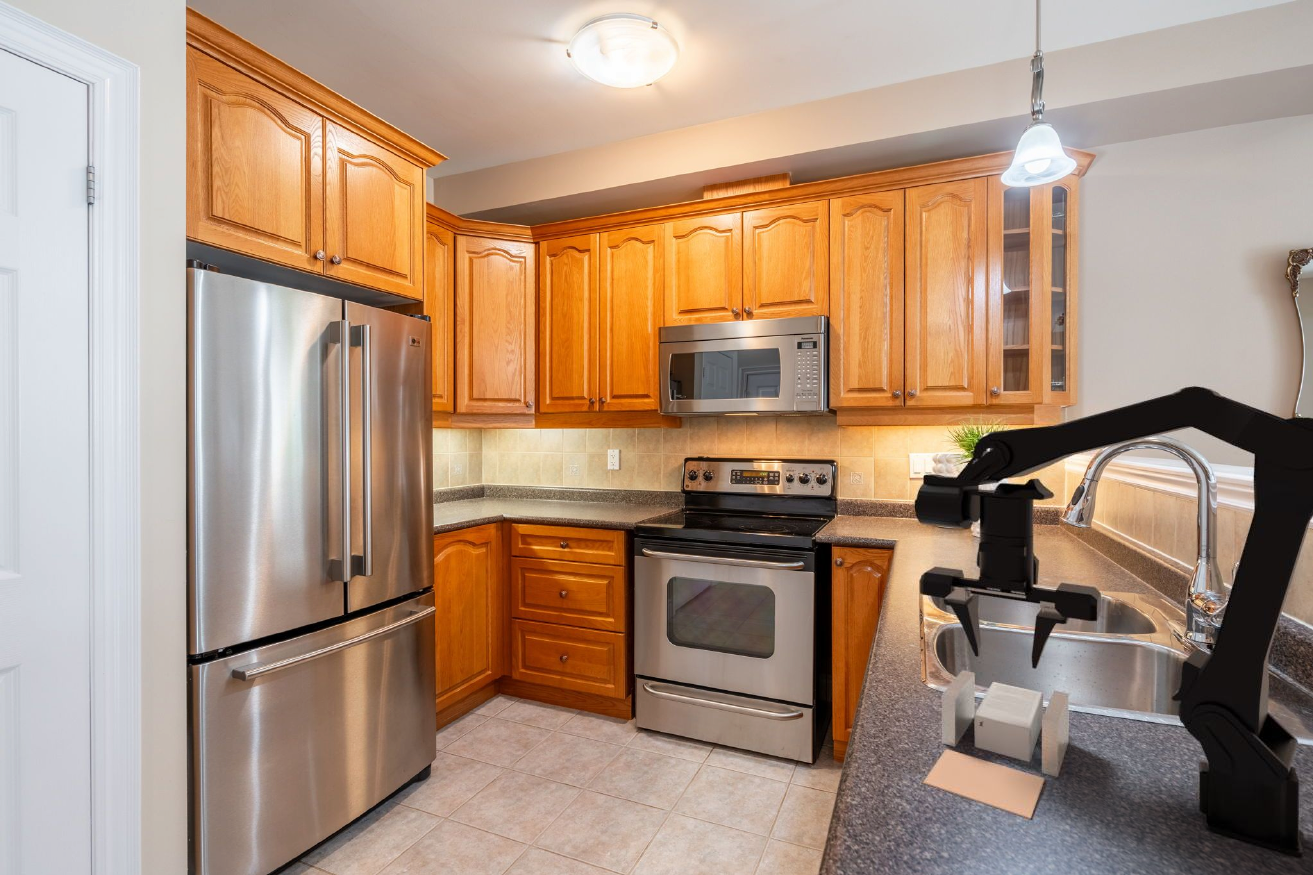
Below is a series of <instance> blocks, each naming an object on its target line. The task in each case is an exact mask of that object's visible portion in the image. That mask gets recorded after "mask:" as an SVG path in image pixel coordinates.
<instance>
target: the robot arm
mask: <svg viewBox="0 0 1313 875" xmlns="http://www.w3.org/2000/svg"><path fill="white" fill-rule="evenodd" d="M1191 428H1193V429H1196V430H1199V431H1200V432H1203V433H1204V434H1207V435H1209V436H1212V437H1214V438H1216V439H1218V440H1220V441H1223V442H1224V443H1227V444H1229V445H1230V446H1233V447H1236V448H1238V449H1241V450H1243V451H1246V452H1248V453H1250V454H1253V455H1254V459H1253V460H1254V464H1253V500H1254V501H1253V502H1254V503H1253V504H1254V507H1253V508H1254V509H1253V510H1254V511H1253V517H1252V519H1251V522H1250V526H1249V529H1248V532H1247V535H1246V539H1245V543H1244V547H1243V550H1242V553H1241V557H1240V558H1239V559H1240V560H1239V562H1238V566H1237V569H1236V573H1235V576H1234V580H1233V583H1232V585H1231V586H1232V587H1231V590H1230V593H1229V597H1228V600H1227V602H1226V603H1227V604H1226V605H1225V606H1226V607H1225V610H1224V614H1223V616H1222V617H1223V618H1222V620H1221V623H1220V627H1219V629H1218V632H1217V637H1216V641H1215V643H1214V646H1213V648H1212V650H1211V651H1210V653H1209V654H1208V653H1206V652H1204V651H1203V650H1200V649H1199V648H1195V649H1193V651H1192V652H1191V653H1190V654H1189V655H1188V656H1187V657H1186V658H1185V660H1184V661H1183V662H1182V668H1181V680H1180V681H1181V682H1180V687H1179V688H1178V690H1177V691H1176V692H1175V693H1174V694H1173V696H1172V697H1171V700H1172V701H1174V702H1180V703H1179V705H1178V717H1179V721H1180V722H1181V724H1182V725H1183V726H1184V728H1185V729H1186V731H1187V732H1188V733H1189V734H1190V735H1191V736H1192V737H1193V738H1195V740H1196V741H1198V742H1199V744H1200V746H1201V748H1202V751H1203V753H1204V755H1205V760H1206V761H1201V760H1200V761H1199V762H1198V768H1197V769H1198V770H1197V771H1198V777H1197V778H1198V779H1197V781H1198V782H1197V783H1198V784H1197V785H1198V786H1197V789H1198V790H1197V792H1198V793H1197V802H1198V811H1199V812H1200V813H1201V814H1202V815H1204V817H1205V819H1204V820H1205V825H1206V828H1207V830H1209V831H1212V832H1214V833H1217V834H1221V835H1225V836H1226V837H1227V836H1228V837H1231V838H1234V839H1238V840H1240V841H1245V842H1248V843H1251V844H1255V845H1257V846H1261V847H1265V848H1268V849H1271V850H1274V851H1278V852H1281V853H1284V854H1288V855H1291V856H1293V857H1295V856H1296V857H1299V858H1303V857H1304V849H1303V847H1302V843H1301V840H1300V779H1299V776H1298V774H1297V772H1296V770H1295V769H1296V768H1295V767H1293V766H1292V763H1293V760H1294V757H1295V753H1296V750H1297V747H1298V744H1299V741H1298V739H1297V738H1296V737H1295V736H1294V735H1293V734H1292V733H1291V732H1290V731H1289V730H1288V729H1287V728H1286V727H1285V726H1283V724H1281V723H1280V722H1279V721H1278V720H1277V719H1276V718H1275V717H1274V716H1273V715H1272V714H1271V713H1270V712H1269V711H1268V708H1269V690H1270V687H1269V686H1270V679H1269V678H1270V677H1269V675H1270V673H1269V655H1270V651H1271V648H1272V645H1273V642H1274V638H1275V636H1276V632H1277V629H1278V626H1279V622H1280V618H1281V616H1282V612H1283V610H1284V606H1285V603H1286V600H1287V597H1288V594H1289V590H1290V586H1291V584H1292V580H1293V577H1294V576H1295V575H1294V574H1295V570H1296V569H1297V565H1298V562H1299V558H1300V556H1301V553H1302V552H1301V551H1302V548H1303V546H1304V542H1305V540H1306V535H1307V534H1308V529H1309V527H1310V524H1311V522H1312V519H1313V417H1298V416H1296V417H1290V418H1283V417H1281V416H1277V415H1275V414H1273V413H1270V412H1267V411H1264V410H1262V409H1258V408H1257V407H1253V406H1251V405H1248V404H1245V403H1242V402H1240V401H1237V400H1233V399H1232V398H1229V397H1226V396H1223V395H1221V394H1220V393H1219V392H1218V391H1216V390H1213V389H1211V388H1207V387H1204V386H1203V387H1202V386H1196V385H1194V386H1187V387H1183V388H1179V390H1177V391H1175V392H1172V393H1170V394H1165V395H1161V396H1158V397H1155V398H1152V399H1148V400H1144V401H1143V400H1142V401H1139V402H1136V403H1133V404H1130V405H1129V404H1128V405H1125V406H1121V407H1118V408H1114V409H1110V410H1107V411H1102V412H1100V413H1095V414H1092V415H1087V416H1085V417H1080V418H1078V419H1077V418H1076V419H1073V420H1069V421H1065V422H1061V423H1058V424H1054V425H1048V426H1036V427H1034V426H1033V427H1025V428H1024V427H1023V428H1014V429H1007V430H1005V429H1004V430H996V431H995V430H994V431H991V432H987V433H984V434H983V435H981V436H980V437H978V439H977V442H976V443H975V446H974V449H973V454H972V457H971V459H970V460H969V461H968V463H967V464H966V465H965V466H964V468H963V469H962V470H961V471H960V472H959V474H958V475H957V476H946V475H943V474H942V475H941V474H938V473H936V474H934V473H931V474H929V473H928V474H924V475H923V477H922V479H923V480H922V481H923V483H922V484H921V485H920V487H919V489H918V491H917V495H916V498H915V500H914V513H915V517H916V519H917V521H918V522H919V523H920V524H921V525H924V526H934V527H941V528H942V527H943V528H951V529H961V530H968V529H970V528H971V527H972V525H974V523H978V521H979V543H978V550H977V554H976V566H977V567H978V568H979V576H978V578H972V577H971V578H969V577H965V575H964V571H963V569H958V568H950V567H949V568H948V567H941V566H934V567H932V568H929V569H928V570H927V571H925V572H923V574H922V575H921V576H920V579H919V594H920V595H923V596H928V597H935V598H943V605H945V606H949V607H951V609H952V611H953V613H954V615H956V617H957V620H958V621H959V623H960V625H961V626H962V629H963V632H964V633H965V636H966V638H967V640H968V644H969V645H970V648H971V650H972V652H973V655H974V656H975V657H977V658H979V657H980V656H981V653H982V652H981V651H982V650H981V649H982V648H981V647H982V640H981V631H980V630H981V628H980V619H979V618H980V617H979V601H980V600H979V599H980V596H987V597H992V598H998V599H1005V600H1011V601H1019V602H1025V603H1031V604H1032V603H1033V604H1036V605H1037V604H1039V607H1040V610H1039V612H1038V613H1037V614H1036V616H1035V623H1034V632H1033V642H1032V649H1031V668H1032V669H1035V670H1036V669H1037V668H1038V666H1039V664H1040V661H1041V658H1042V656H1043V653H1044V650H1045V648H1046V645H1047V642H1048V640H1049V637H1050V635H1051V634H1052V631H1053V629H1054V628H1055V627H1056V625H1067V624H1068V622H1069V621H1070V619H1074V620H1080V621H1087V622H1097V621H1098V619H1099V617H1100V615H1101V613H1102V592H1100V591H1099V589H1097V587H1096V586H1088V585H1081V584H1075V583H1067V582H1066V583H1065V582H1061V583H1060V584H1058V586H1057V588H1056V589H1051V588H1045V587H1044V588H1043V587H1037V586H1035V585H1038V583H1039V569H1040V560H1039V558H1038V557H1037V556H1036V555H1035V553H1034V501H1045V500H1049V499H1054V496H1055V494H1054V493H1053V491H1051V490H1050V489H1049V488H1047V487H1046V485H1044V484H1043V483H1042V482H1041V480H1040V479H1039V478H1030V479H1028V481H1026V483H1010V482H1009V483H1006V482H1002V481H1003V480H1005V479H1006V480H1007V479H1013V478H1022V477H1026V476H1028V475H1031V474H1033V473H1035V472H1039V471H1041V470H1043V469H1045V468H1047V467H1051V466H1053V465H1054V464H1057V463H1058V462H1060V461H1063V460H1065V459H1068V458H1070V457H1072V456H1075V455H1079V454H1083V453H1087V452H1092V451H1095V450H1096V451H1097V450H1100V449H1104V448H1108V447H1114V446H1117V445H1121V444H1126V443H1130V442H1134V441H1138V440H1142V439H1143V440H1144V439H1146V438H1153V437H1156V436H1159V435H1164V434H1168V433H1173V432H1178V431H1182V430H1186V429H1191ZM999 482H1001V483H999ZM992 484H998V485H997V486H996V487H995V489H994V490H993V489H980V488H979V487H980V486H984V485H992Z"/></svg>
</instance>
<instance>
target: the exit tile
mask: <svg viewBox="0 0 1313 875" xmlns="http://www.w3.org/2000/svg"><path fill="white" fill-rule="evenodd" d="M922 782H923V783H922V784H924V785H926V786H930V787H933V788H936V789H938V790H942V791H945V792H948V793H951V794H954V795H956V796H960V797H963V798H965V799H968V800H970V801H974V802H977V803H980V804H983V805H986V806H990V807H992V808H996V809H999V810H1000V811H1004V812H1007V813H1010V814H1014V815H1016V816H1019V817H1023V818H1025V819H1028V820H1032V817H1033V815H1034V811H1035V808H1036V805H1037V804H1038V799H1039V797H1040V796H1041V791H1042V790H1043V786H1044V783H1045V778H1044V777H1042V776H1038V775H1035V774H1032V773H1027V772H1024V771H1021V770H1018V769H1015V768H1011V767H1008V766H1004V765H1001V764H998V763H994V762H991V761H988V760H984V759H980V758H977V757H975V756H971V755H969V754H968V755H967V754H965V753H960V752H958V751H957V752H956V751H954V750H951V749H949V748H946V749H945V750H944V751H943V753H942V754H941V756H940V757H939V759H938V760H937V761H936V763H935V764H934V766H933V767H932V768H931V770H930V771H929V773H928V775H927V776H926V778H925V779H924V780H923V781H922Z"/></svg>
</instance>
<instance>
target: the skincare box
mask: <svg viewBox="0 0 1313 875" xmlns="http://www.w3.org/2000/svg"><path fill="white" fill-rule="evenodd" d="M1043 716H1044V693H1043V692H1041V691H1037V690H1036V691H1035V690H1032V689H1027V688H1023V687H1017V686H1014V685H1008V684H1005V683H1000V682H995V681H993V682H992V683H991V684H990V686H989V688H988V690H987V692H986V694H985V695H984V697H983V698H982V700H981V702H980V705H979V706H978V708H977V710H976V711H975V712H974V719H973V725H974V730H973V732H974V747H975V748H976V749H977V748H978V749H982V750H986V751H989V752H993V753H996V754H999V755H1003V756H1007V757H1010V758H1013V759H1017V760H1021V761H1025V762H1028V763H1030V762H1031V761H1032V758H1033V754H1034V751H1035V748H1036V746H1037V741H1038V739H1039V736H1040V732H1041V731H1042V718H1043Z"/></svg>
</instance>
